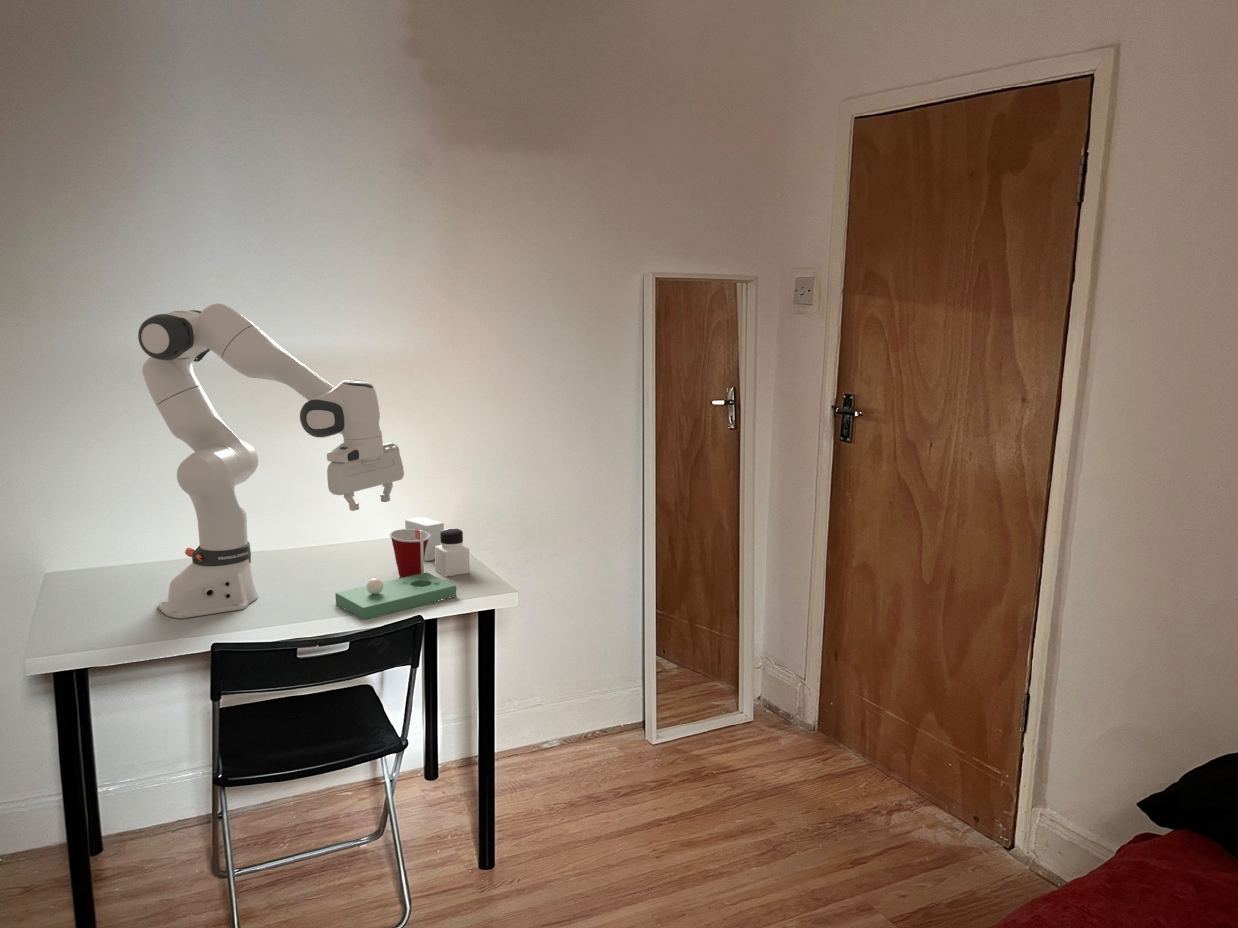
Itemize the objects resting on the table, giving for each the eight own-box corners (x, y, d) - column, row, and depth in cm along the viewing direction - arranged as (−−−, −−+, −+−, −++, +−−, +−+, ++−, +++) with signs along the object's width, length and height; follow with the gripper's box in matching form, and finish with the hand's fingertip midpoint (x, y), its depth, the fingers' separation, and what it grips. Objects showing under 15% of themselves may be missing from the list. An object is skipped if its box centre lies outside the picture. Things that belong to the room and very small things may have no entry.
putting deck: (363, 619, 230) (361, 558, 227) (332, 602, 241) (330, 544, 238) (456, 596, 247) (455, 540, 244) (423, 581, 258) (422, 527, 255)
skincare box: (445, 557, 280) (444, 522, 278) (427, 561, 276) (426, 526, 274) (422, 549, 287) (422, 515, 285) (404, 554, 282) (404, 519, 280)
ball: (371, 597, 236) (371, 582, 235) (363, 593, 239) (363, 578, 238) (386, 594, 239) (386, 578, 238) (378, 590, 241) (377, 574, 241)
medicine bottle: (469, 573, 266) (469, 531, 264) (445, 577, 262) (444, 534, 260) (458, 566, 272) (458, 525, 270) (434, 570, 268) (434, 528, 266)
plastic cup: (421, 583, 256) (421, 540, 254) (383, 580, 258) (382, 537, 256) (437, 571, 267) (436, 529, 264) (400, 568, 269) (399, 526, 267)
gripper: (389, 440, 238) (394, 495, 241) (320, 455, 222) (327, 514, 225) (406, 442, 235) (412, 497, 237) (338, 457, 219) (344, 516, 221)
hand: (370, 505), depth 231 cm, fingers open, 8 cm apart
